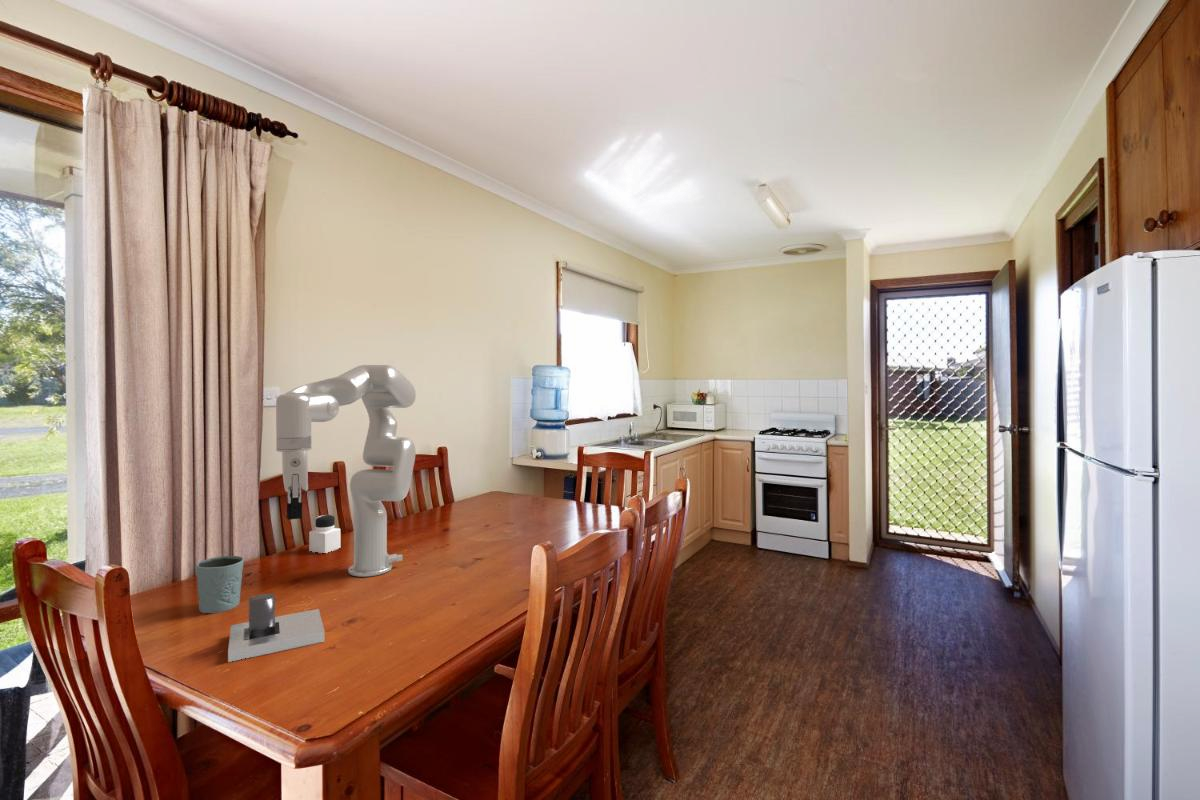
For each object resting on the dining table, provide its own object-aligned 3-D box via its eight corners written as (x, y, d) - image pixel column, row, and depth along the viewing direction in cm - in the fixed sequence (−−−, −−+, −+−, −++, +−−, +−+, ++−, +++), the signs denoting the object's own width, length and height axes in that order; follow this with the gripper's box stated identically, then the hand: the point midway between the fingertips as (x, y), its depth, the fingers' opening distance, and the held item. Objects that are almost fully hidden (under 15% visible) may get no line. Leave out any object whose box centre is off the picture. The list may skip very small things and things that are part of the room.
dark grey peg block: (274, 634, 126) (274, 592, 126) (275, 643, 122) (275, 599, 122) (249, 640, 124) (248, 596, 123) (248, 649, 119) (248, 604, 119)
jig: (318, 618, 135) (318, 608, 135) (324, 641, 123) (324, 630, 123) (231, 635, 125) (231, 625, 125) (228, 662, 114) (228, 650, 113)
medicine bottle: (341, 548, 193) (340, 514, 192) (324, 554, 186) (324, 519, 185) (325, 546, 195) (325, 513, 195) (308, 552, 188) (308, 517, 188)
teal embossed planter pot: (193, 606, 142) (193, 560, 141) (239, 596, 149) (238, 552, 148) (200, 618, 134) (200, 570, 134) (248, 607, 142) (247, 561, 141)
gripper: (313, 446, 129) (314, 523, 130) (308, 440, 142) (309, 510, 142) (277, 448, 125) (277, 527, 126) (275, 442, 138) (276, 514, 139)
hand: (294, 518), depth 134 cm, fingers closed
